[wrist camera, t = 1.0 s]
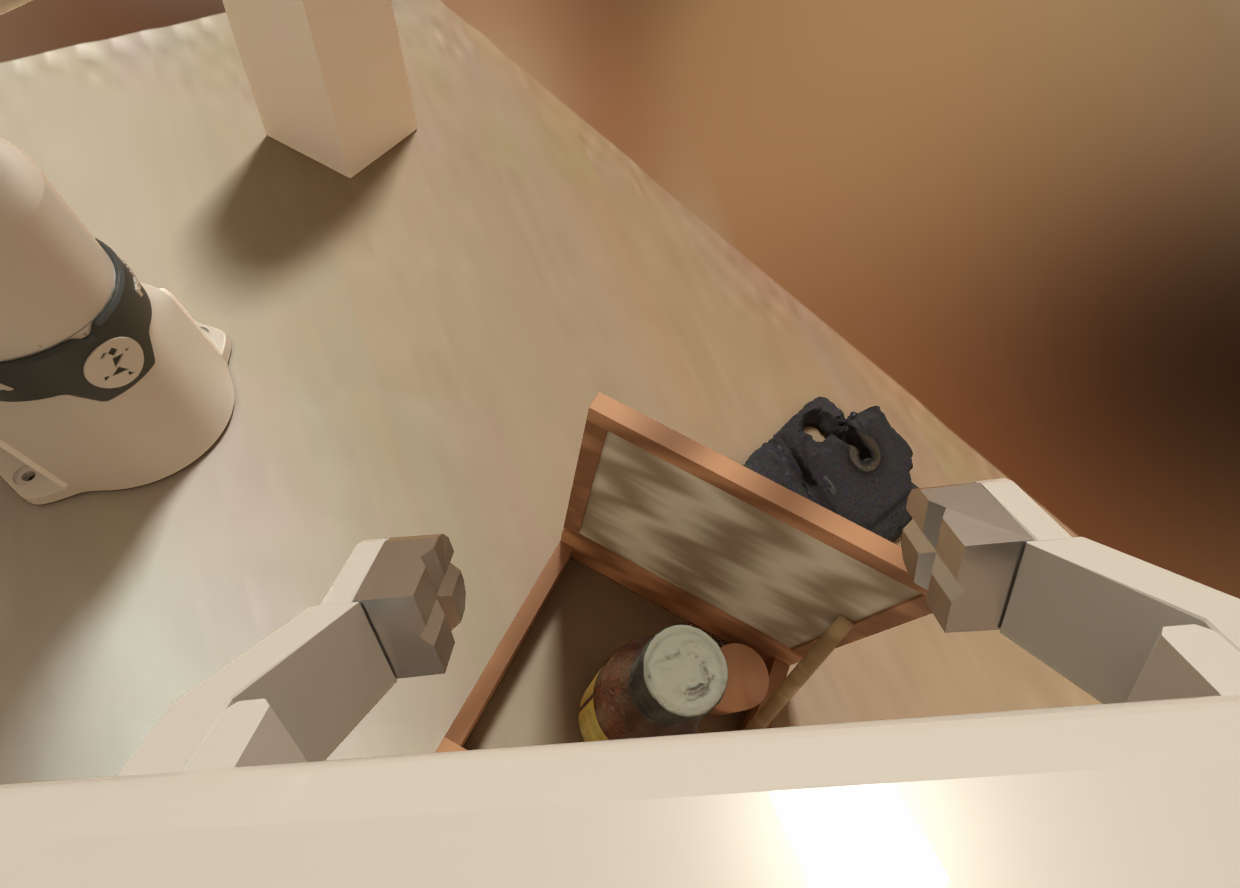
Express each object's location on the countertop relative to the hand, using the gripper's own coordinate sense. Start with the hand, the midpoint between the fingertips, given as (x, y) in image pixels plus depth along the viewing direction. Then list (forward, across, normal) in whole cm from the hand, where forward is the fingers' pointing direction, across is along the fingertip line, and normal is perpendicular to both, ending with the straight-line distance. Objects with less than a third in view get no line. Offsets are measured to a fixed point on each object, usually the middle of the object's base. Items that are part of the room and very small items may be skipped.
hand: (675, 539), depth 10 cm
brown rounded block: (+22, -3, +33) cm, 39 cm away
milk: (+70, +33, -8) cm, 77 cm away
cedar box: (+20, +4, +32) cm, 37 cm away
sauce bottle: (+19, +5, +32) cm, 38 cm away
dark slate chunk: (+37, -14, +28) cm, 48 cm away
